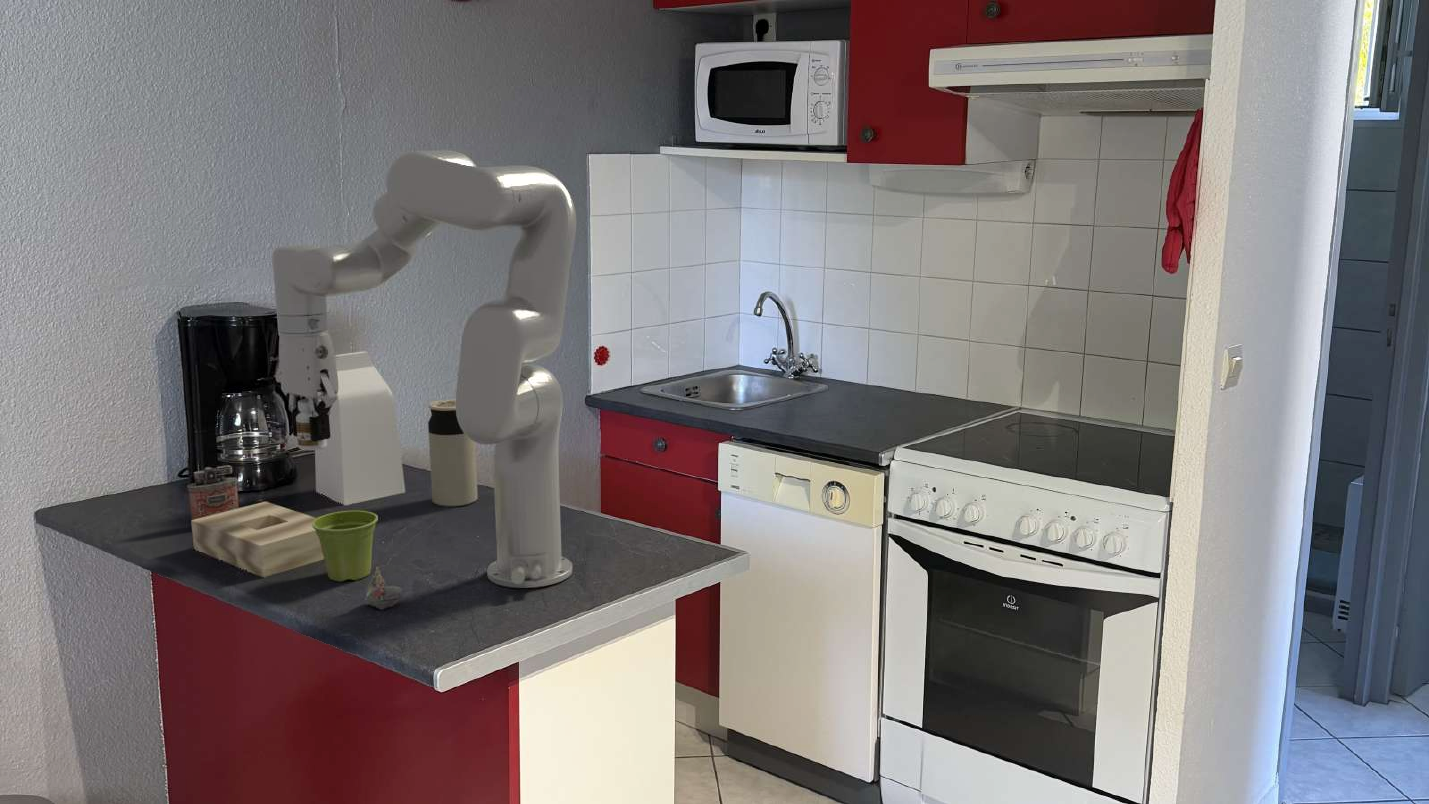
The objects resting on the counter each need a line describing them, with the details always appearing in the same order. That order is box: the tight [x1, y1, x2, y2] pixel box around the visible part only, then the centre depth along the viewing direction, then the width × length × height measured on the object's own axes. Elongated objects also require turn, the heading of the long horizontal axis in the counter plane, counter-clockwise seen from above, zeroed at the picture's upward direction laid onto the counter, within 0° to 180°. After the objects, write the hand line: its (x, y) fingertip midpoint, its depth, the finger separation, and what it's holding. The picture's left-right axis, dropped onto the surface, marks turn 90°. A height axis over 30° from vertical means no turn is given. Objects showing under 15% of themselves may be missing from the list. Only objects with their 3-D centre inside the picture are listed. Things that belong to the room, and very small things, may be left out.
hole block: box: [190, 501, 324, 578], centre depth 194 cm, size 20×13×5 cm, turn 51°
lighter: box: [186, 464, 240, 528], centre depth 208 cm, size 8×3×10 cm, turn 129°
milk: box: [314, 351, 406, 506], centre depth 225 cm, size 12×12×26 cm
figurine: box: [364, 565, 403, 611], centre depth 172 cm, size 5×4×6 cm
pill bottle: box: [296, 399, 327, 451], centre depth 197 cm, size 4×4×8 cm
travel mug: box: [427, 398, 479, 508], centre depth 220 cm, size 8×8×18 cm
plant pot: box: [312, 510, 379, 582], centre depth 184 cm, size 9×9×9 cm
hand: (311, 436), depth 197 cm, fingers closed on pill bottle, 4 cm apart
